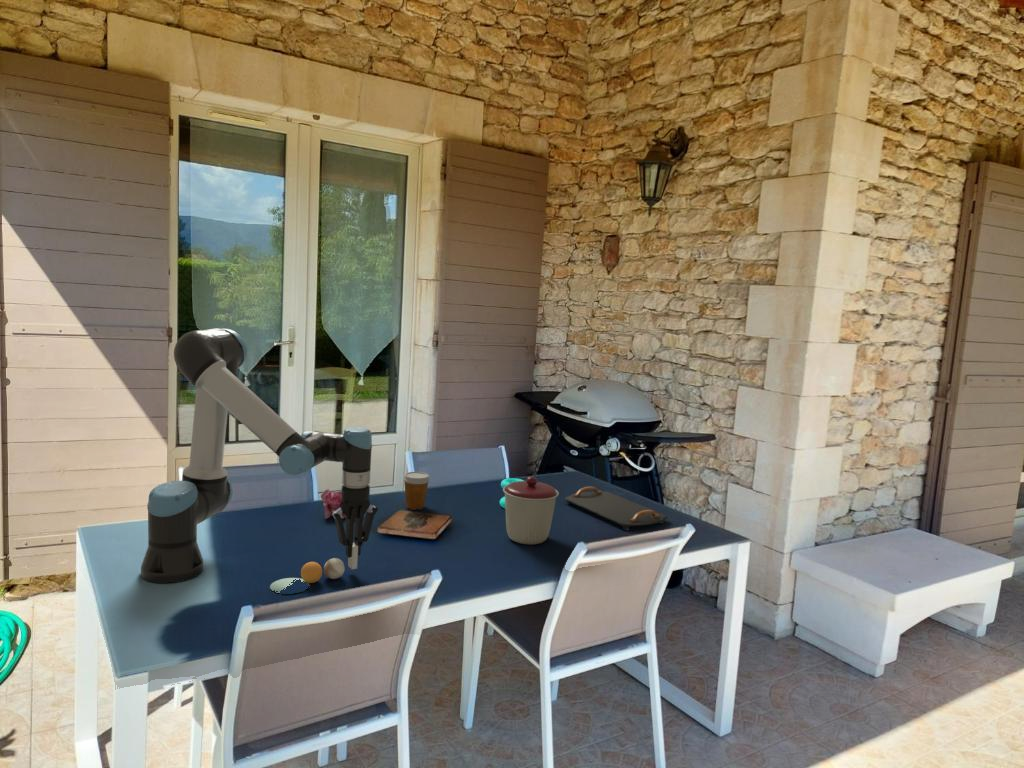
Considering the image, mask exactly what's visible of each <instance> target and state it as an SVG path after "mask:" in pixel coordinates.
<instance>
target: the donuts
mask: <svg viewBox="0 0 1024 768" xmlns="http://www.w3.org/2000/svg"><path fill="white" fill-rule="evenodd" d="M517 481H525V480H523V479H521V478H516V477H515V478H513V477H512V478H509V477H508V478H505V479H502V480H501V483H500V487H501V488H502V489H503V488H504V487H505V486H506V485H509V484H510V483H513V482H517ZM499 505H500V507H502V508H503V509H504V510H505V496H502V497H501V498H500V500H499Z"/></svg>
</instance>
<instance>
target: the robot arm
mask: <svg viewBox="0 0 1024 768" xmlns="http://www.w3.org/2000/svg"><path fill="white" fill-rule="evenodd" d="M247 349H248V348H247V345H246V342H245V340H244V338H242V337H241V335H240V334H238V332H236V331H234V330H233V329H230V328H223V327H222V328H221V327H220V328H219V327H214V328H209V329H201V330H200V329H196V330H191V331H188V332H186V333H184V334H183V335H181V336H180V337H179V338H178V340H177V342H176V343H175V346H174V348H173V359H174V362H175V365H176V367H177V369H178V370H179V371H180V373H181V374H182V376H184V377H185V379H187V381H188V382H189V383H191V384H192V385H193V386H194V387H195V390H196V392H195V400H194V401H195V402H194V410H193V411H194V412H193V422H192V423H193V424H192V432H191V443H190V444H191V445H190V453H189V455H190V456H189V464H188V466H187V467H185V468H183V470H182V475H181V476H182V477H181V480H173V481H170V482H164V483H161V484H158V485H157V486H155V487H154V488H153V489H151V490H150V492H149V494H148V502H147V504H146V505H147V523H148V524H147V527H148V528H147V532H148V535H147V538H148V540H147V542H148V544H147V548H146V551H145V554H144V557H143V561H142V563H141V566H140V577H141V578H142V579H143V580H145V581H146V582H150V583H155V584H156V583H157V584H170V583H169V582H173V583H180V582H184V580H185V581H187V579H188V580H191V579H193V577H194V578H196V577H197V576H199V575H200V574H202V573H203V572H204V565H205V562H204V558H203V556H202V553H201V550H200V547H199V544H198V542H197V541H198V539H197V538H198V537H197V534H198V531H197V530H198V524H200V523H202V522H204V521H206V520H208V519H210V518H211V517H214V516H216V515H218V514H219V513H221V512H222V511H223V510H224V509H226V508H227V506H229V504H230V503H231V500H232V498H233V485H232V482H230V479H229V478H228V471H227V470H226V469H225V467H224V466H223V463H224V454H225V446H226V434H227V424H228V414H229V413H230V414H231V415H232V416H233V417H234V418H236V419H237V420H238V421H239V422H240V423H241V424H242V425H243V426H244V427H245V428H247V430H249V431H250V433H252V434H253V435H254V436H256V437H257V438H258V439H259V441H261V442H262V443H263V444H264V445H266V446H267V447H268V448H269V449H270V450H271V451H272V452H273V453H274V454H275V455H276V456H277V457H278V464H279V466H280V469H281V470H282V471H283V472H284V473H286V474H287V475H291V476H299V475H301V474H304V473H307V472H308V471H310V470H311V469H312V468H314V467H316V466H318V465H319V464H321V463H323V462H326V461H327V462H335V463H342V468H341V469H342V470H341V472H342V473H341V484H342V485H341V490H340V491H341V500H342V501H341V504H340V508H339V509H337V510H336V511H332V512H331V514H332V515H331V517H333V518H334V522H335V523H334V524H335V527H336V532H337V537H338V542H339V543H340V544H341V545H342V546H345V556H346V557H347V558H348V559H347V560H348V561H347V566H348V567H349V568H350V569H351V570H355V569H356V570H357V569H358V559H359V556H361V551H362V546H363V545H364V543H365V542H368V540H369V537H370V535H371V534H370V533H371V529H372V526H373V523H374V518H375V515H376V514H377V512H378V507H376V506H375V505H373V504H371V501H370V494H371V493H370V491H371V486H370V483H371V465H372V464H371V463H372V451H373V443H372V442H373V440H372V432H371V431H372V430H370V429H369V428H366V427H361V426H360V427H359V426H358V427H356V426H349V427H346V428H344V430H343V433H342V434H341V433H334V432H333V433H332V432H321V431H319V430H318V431H317V430H313V431H311V430H310V431H309V430H305V431H304V432H302V434H301V435H300V434H299V433H298V432H297V431H296V430H295V429H294V428H293V427H292V426H291V425H289V424H288V423H287V422H286V421H285V420H284V419H283V418H282V417H281V416H280V415H278V414H277V413H276V411H274V410H273V409H272V408H271V407H270V406H269V405H267V404H266V403H265V402H264V401H263V400H262V399H261V398H260V397H259V396H258V395H256V393H255V392H254V391H252V390H251V389H250V388H249V387H248V386H247V385H246V384H244V383H243V382H242V380H240V379H239V378H238V372H239V368H240V367H241V366H242V365H243V364H244V363H245V362H246V359H247V357H248V350H247ZM228 412H229V413H228ZM342 512H343V513H344V515H345V516H346V517H345V526H344V521H343V518H341V517H342ZM195 576H196V577H195ZM179 581H180V582H179Z"/></svg>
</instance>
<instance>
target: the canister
mask: <svg viewBox="0 0 1024 768" xmlns="http://www.w3.org/2000/svg"><path fill="white" fill-rule="evenodd" d="M502 491H503V493H504V497H505V509H504V511H505V526H506V527H505V529H506V533H507V536H508V538H509V539H510V540H512V541H513V542H516V543H517V544H520V545H521V544H522V545H531V546H532V545H539V544H542V543H543V542H545V541H546V540H547V539H548V537H549V534H550V531H551V526H552V521H553V517H554V511H555V507H556V501H557V497H558V496H559V494H560V493H559V491H558V490H557V489H555V488H554V487H553V486H552V485H551V484H550V485H549V484H547V483H544V482H541V481H538V480H537V478H536V477H535V476H528V477H527V478H526V479H525V480H524V481H517V482H513V483H510V484H509V485H506V486H505V487H504V488H502Z"/></svg>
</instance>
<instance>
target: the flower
mask: <svg viewBox="0 0 1024 768" xmlns="http://www.w3.org/2000/svg"><path fill="white" fill-rule="evenodd" d="M341 491H342V490H339V491H337V492H336V490H330V488H328V489H325V490H324V492H323V493H322V494H320V498H321V500H322V501H323V503H322V504H323V506H324V511H323V513H324V517H325V519H326V520H328V519H329V518H330V517H332V514H331V512H332V511H336V510H337V509H339V508H340V504H341V501H342V500H341ZM341 518H342V519H344V518H345V519H346V516H345V515H344V513H343V512H342V517H341Z"/></svg>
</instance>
